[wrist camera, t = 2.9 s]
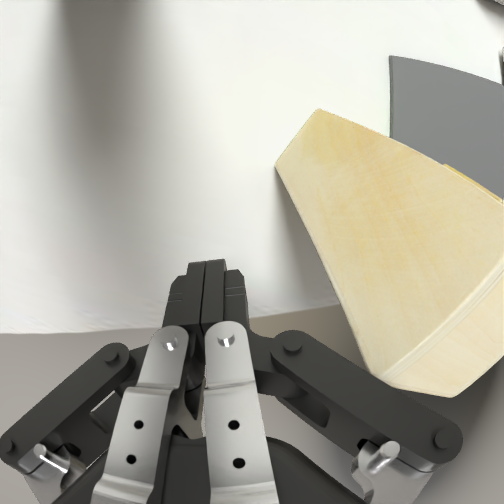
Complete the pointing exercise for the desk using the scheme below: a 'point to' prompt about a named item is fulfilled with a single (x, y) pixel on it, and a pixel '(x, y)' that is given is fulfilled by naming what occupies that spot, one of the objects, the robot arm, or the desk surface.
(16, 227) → the desk surface
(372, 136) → the toy refrigerator
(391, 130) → the mat
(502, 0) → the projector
